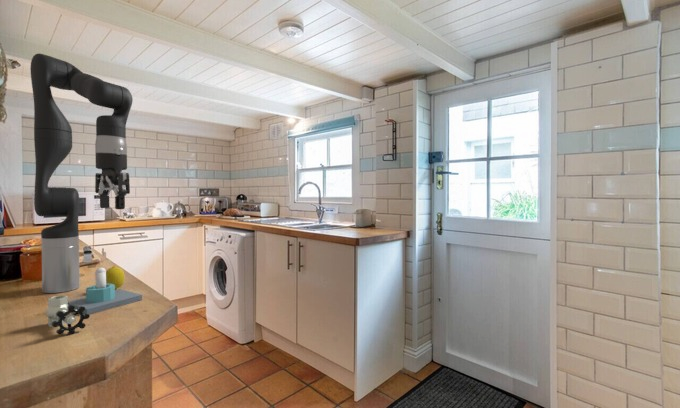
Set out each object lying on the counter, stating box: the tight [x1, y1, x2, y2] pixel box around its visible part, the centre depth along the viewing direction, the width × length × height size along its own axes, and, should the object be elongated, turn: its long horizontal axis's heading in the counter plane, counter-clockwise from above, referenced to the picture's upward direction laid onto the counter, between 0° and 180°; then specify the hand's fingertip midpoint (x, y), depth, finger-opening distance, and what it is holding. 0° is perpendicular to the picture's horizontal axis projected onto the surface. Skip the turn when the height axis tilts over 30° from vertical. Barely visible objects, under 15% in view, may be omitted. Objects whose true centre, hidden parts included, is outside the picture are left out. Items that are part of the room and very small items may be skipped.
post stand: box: [67, 267, 143, 315], centre depth 93 cm, size 12×14×10 cm
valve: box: [45, 294, 91, 336], centre depth 76 cm, size 7×7×12 cm
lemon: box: [106, 265, 126, 290], centre depth 105 cm, size 6×6×8 cm
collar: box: [85, 284, 115, 303], centre depth 92 cm, size 6×6×4 cm
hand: (112, 208), depth 95 cm, fingers open, 8 cm apart
